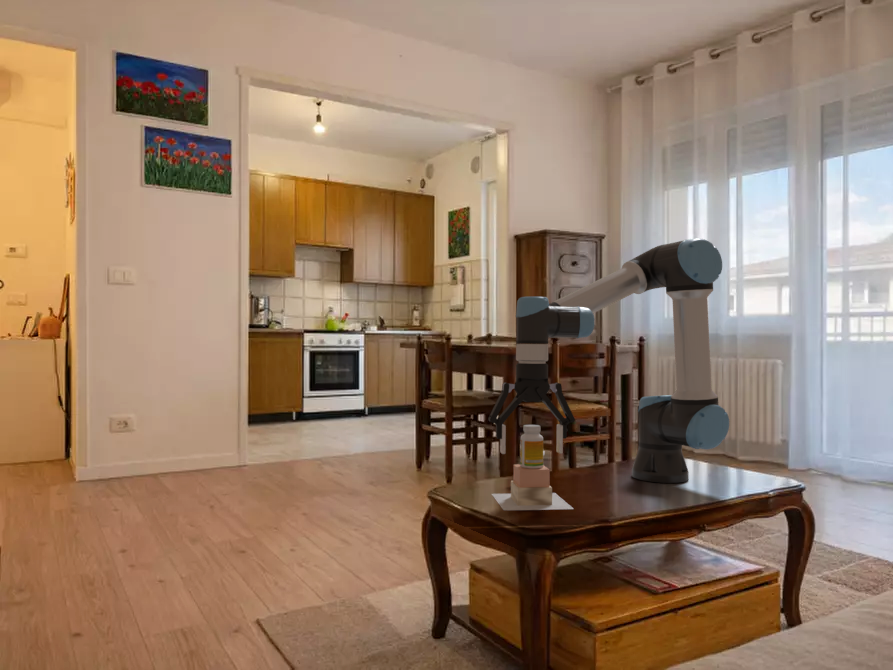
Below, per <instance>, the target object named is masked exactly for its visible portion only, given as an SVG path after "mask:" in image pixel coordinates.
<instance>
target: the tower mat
mask: <svg viewBox="0 0 893 670" xmlns="http://www.w3.org/2000/svg"><path fill="white" fill-rule="evenodd" d="M491 496H492V497H493V498H494V500H496V502H497V503H498V505H499V506H500V508H501V509H502V510H503V511H542V510H543V511H544V510H545V511H549V510H550V511H551V510H553V511H555V510H560V511H561V510H575V509H574V507H572V505H570V504H569V503H568V502H566V500H564V499H563V498H562V497H560V496H559V495H558V494H557V493H556V492H552V505H520V506H518V505H517V504H516V503H515V502H514V501H513V499H512V498H511V493H491Z"/></svg>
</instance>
